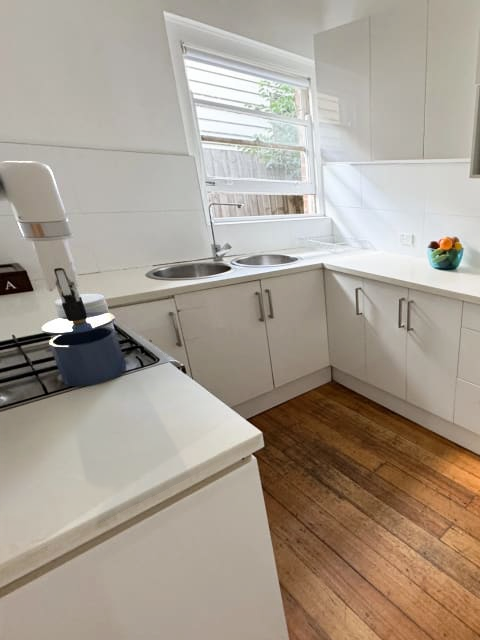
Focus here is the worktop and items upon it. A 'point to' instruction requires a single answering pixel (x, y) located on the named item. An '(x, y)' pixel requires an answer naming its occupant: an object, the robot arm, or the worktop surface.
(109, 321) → the lid
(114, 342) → the tin
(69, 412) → the worktop surface
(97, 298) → the supplement tub
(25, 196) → the robot arm
